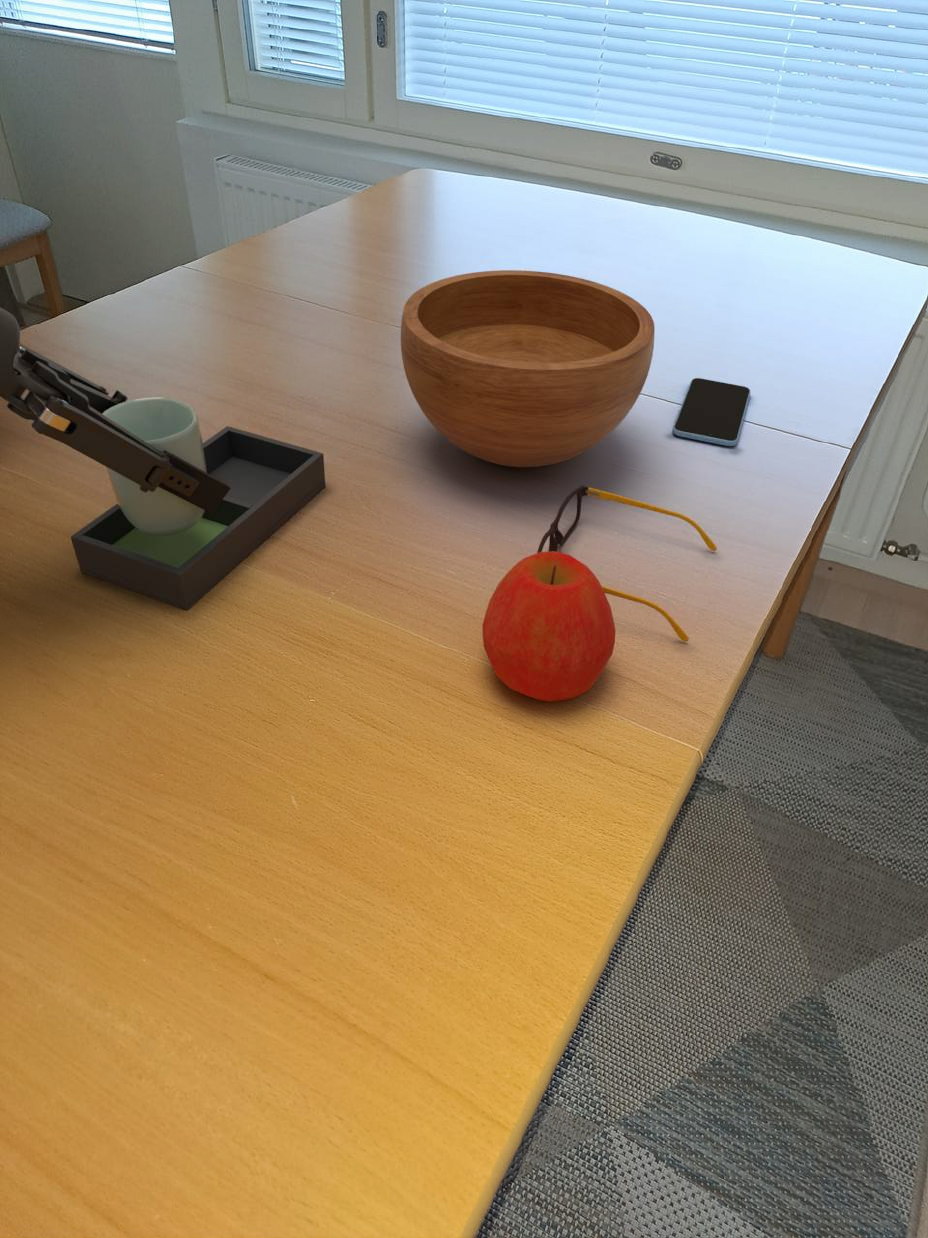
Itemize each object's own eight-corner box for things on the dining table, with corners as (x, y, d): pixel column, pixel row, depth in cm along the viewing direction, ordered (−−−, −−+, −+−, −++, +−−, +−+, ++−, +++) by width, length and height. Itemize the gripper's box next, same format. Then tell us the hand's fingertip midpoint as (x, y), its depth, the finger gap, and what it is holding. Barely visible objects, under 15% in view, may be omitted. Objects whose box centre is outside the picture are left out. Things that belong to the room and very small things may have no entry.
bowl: (355, 438, 100) (349, 301, 90) (522, 378, 112) (533, 253, 103) (508, 545, 85) (521, 397, 76) (680, 463, 98) (710, 327, 88)
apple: (474, 628, 76) (480, 524, 69) (595, 626, 77) (613, 523, 70) (484, 717, 68) (493, 610, 62) (619, 714, 69) (642, 608, 62)
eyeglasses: (568, 515, 90) (573, 480, 87) (716, 551, 86) (725, 516, 83) (522, 599, 79) (526, 562, 77) (687, 644, 76) (697, 607, 73)
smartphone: (752, 386, 111) (737, 442, 100) (750, 393, 112) (736, 449, 101) (691, 375, 113) (671, 428, 102) (690, 381, 113) (669, 435, 102)
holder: (80, 572, 80) (70, 536, 77) (231, 458, 95) (227, 425, 93) (187, 610, 76) (179, 574, 74) (325, 486, 92) (323, 453, 89)
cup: (188, 488, 84) (170, 387, 77) (230, 527, 79) (214, 423, 73) (106, 517, 80) (80, 413, 73) (146, 559, 75) (122, 452, 69)
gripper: (7, 343, 54) (278, 496, 72) (-69, 242, 67) (178, 393, 85) (-60, 445, 55) (224, 571, 73) (-122, 326, 68) (133, 459, 86)
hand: (199, 476), depth 79 cm, fingers closed on cup, 8 cm apart
